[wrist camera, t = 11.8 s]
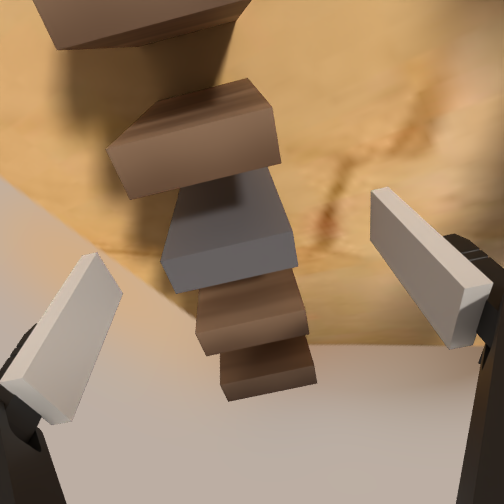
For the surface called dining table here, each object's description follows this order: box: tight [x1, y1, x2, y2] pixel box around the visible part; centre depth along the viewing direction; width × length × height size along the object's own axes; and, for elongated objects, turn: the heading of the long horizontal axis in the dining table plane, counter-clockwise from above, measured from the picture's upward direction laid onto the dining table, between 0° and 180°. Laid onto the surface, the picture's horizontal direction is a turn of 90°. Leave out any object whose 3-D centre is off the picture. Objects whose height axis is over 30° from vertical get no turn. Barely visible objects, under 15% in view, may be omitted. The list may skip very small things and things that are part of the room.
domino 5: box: [220, 335, 317, 402], centre depth 24 cm, size 2×6×11 cm, turn 102°
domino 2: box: [106, 78, 281, 200], centre depth 16 cm, size 2×6×11 cm, turn 102°
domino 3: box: [160, 167, 298, 294], centre depth 19 cm, size 2×6×11 cm, turn 102°
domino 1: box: [33, 0, 251, 50], centre depth 13 cm, size 2×6×11 cm, turn 102°
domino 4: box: [195, 268, 309, 356], centre depth 21 cm, size 2×6×11 cm, turn 102°
